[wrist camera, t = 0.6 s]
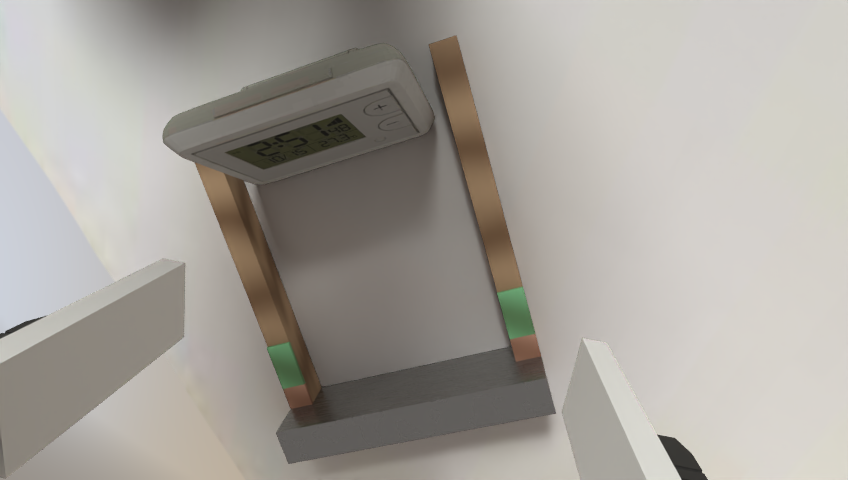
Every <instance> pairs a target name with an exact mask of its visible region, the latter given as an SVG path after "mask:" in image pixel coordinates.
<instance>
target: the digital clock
mask: <svg viewBox="0 0 848 480" xmlns="http://www.w3.org/2000/svg"><path fill="white" fill-rule="evenodd" d="M434 119H435V116H434V113H433V110H432V108H431V106H430V104H429V102H428V100H427V99H426V97H425V95H424V93H423V91H422V89H421V87H420V85H419V83H418V82H417V80H416V78H415V76H414V74H413V72H412V70H411V68H410V66H409V65H408V63H407V61H406V60H405V58H404V57H403V55H402V54H401V53H400V52H399V51H398V50H397V49H395V48H394V47H393V46H391V45H388V44H376V45H372V46H369V47H366V48H363V49H358V48H353V49H351V50H348V51H345V52H342V53H339V54H336V55H334V56H331V57H328V58H325V59H322V60H320V61H317V62H314V63H311V64H308V65H306V66H303V67H300V68H297V69H294V70H291V71H289V72H286V73H283V74H280V75H277V76H275V77H272V78H269V79H266V80H263V81H260V82H258V83H255V84H252V85H249V86H246V87H244V88H242V89H241V92H238V93H235V94H232V95H229V96H227V97H224V98H221V99H218V100H215V101H213V102H210V103H207V104H204V105H201V106H199V107H196V108H193V109H191V110H188V111H185V112H183V113H180V114H178V115H176V116H174V117H173V118H172V119H171V120H170V121H169V122H168V124H167V125H166V127H165V128H164V131H163V143H164V144H165V145H166V146H168V147H169V148H170V149H171V150H173V151H174V152H175V153H177V154H178V155H179V156H181V157H183V158H185V159H187V160H190V161H192V162H195V163H198V164H201V165H203V166H206V167H209V168H211V169H214V170H217V171H220V172H222V173H225V174H228V175H230V176H233V177H236V178H239V179H241V180H244V181H247V182H249V183H252V184H257V185H262V184H267V183H271V182H274V181H278V180H281V179H284V178H288V177H291V176H294V175H297V174H300V173H304V172H307V171H310V170H313V169H316V168H320V167H323V166H326V165H329V164H332V163H336V162H339V161H342V160H345V159H348V158H352V157H355V156H358V155H361V154H364V153H368V152H371V151H374V150H377V149H380V148H384V147H387V146H390V145H393V144H396V143H399V142H403V141H406V140H409V139H412V138H415V137H418V136H421V135H423V134H425V133H427V132H428V131H429V129H430V127H431V126H432V123H433V121H434Z"/></svg>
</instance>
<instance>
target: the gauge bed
mask: <svg viewBox="0 0 848 480" xmlns="http://www.w3.org/2000/svg"><path fill="white" fill-rule="evenodd" d="M429 48H430V51H431V55H432V58H433V62H434V66H435V69H436V73H437V76H438V80H439V84H440V87H441V91H442V94H443V98H444V102H445V105H446V109H447V113H448V116H449V120H450V123H451V127H452V131H453V134H454V138H455V141H456V145H457V149H458V152H459V156H460V160H461V163H462V167H463V170H464V174H465V178H466V181H467V185H468V188H469V192H470V196H471V199H472V203H473V207H474V210H475V214H476V217H477V221H478V225H479V228H480V232H481V235H482V239H483V243H484V246H485V250H486V254H487V257H488V261H489V264H490V268H491V272H492V275H493V279H494V282H495V286H496V290H497V295H498V298H499V302H500V306H501V309H502V313H503V317H504V320H505V324H506V327H507V331H508V335H509V338H510V342H511V345H512V349H513V353H514V356H515V360H516V361H521V360H526V359H531V358H535V357H540V356H541V354H540V350H539V346H538V342H537V338H536V335H535V331H534V327H533V323H532V319H531V316H530V312H529V308H528V304H527V300H526V297H525V293H524V289H523V286H522V282H521V278H520V275H519V271H518V267H517V263H516V259H515V256H514V252H513V248H512V244H511V241H510V237H509V233H508V229H507V225H506V222H505V218H504V214H503V210H502V206H501V203H500V199H499V195H498V191H497V187H496V184H495V180H494V176H493V172H492V168H491V165H490V161H489V157H488V153H487V150H486V146H485V142H484V138H483V134H482V131H481V127H480V123H479V119H478V115H477V112H476V108H475V104H474V100H473V96H472V93H471V89H470V85H469V81H468V77H467V74H466V70H465V66H464V62H463V59H462V55H461V51H460V47H459V43H458V40H457V36H453V37H450V38H447V39H444V40H441V41H438V42H435V43H432V44H429ZM195 164H196V167H197V170H198V172H199V175H200V177H201V180H202V182H203V185H204V187H205V190H206V192H207V195H208V197H209V200H210V202H211V205H212V207H213V210H214V212H215V215H216V217H217V220H218V222H219V225H220V228H221V230H222V233H223V235H224V238H225V240H226V243H227V245H228V248H229V250H230V253H231V255H232V258H233V260H234V263H235V265H236V268H237V270H238V273H239V275H240V278H241V280H242V283H243V286H244V288H245V291H246V293H247V296H248V298H249V301H250V303H251V306H252V308H253V311H254V313H255V316H256V318H257V321H258V323H259V326H260V328H261V331H262V333H263V336H264V338H265V341H266V344H267V346H268V347H267V350H268V353H269V355H270V358H271V360H272V363H273V365H274V368H275V370H276V373H277V375H278V378H279V380H280V383H281V385H282V388H283V390H284V393H285V395H286V398H287V401H288V403H289V406H290V408H291V409H293V408H298V407H302V406H307V405H312V404H313V402H314V400H315V398H316V397H317V395H318V393H319V391H320V390H321V388H322V387H321V385H320V382H319V379H318V377H317V374H316V371H315V369H314V366H313V363H312V361H311V358H310V356H309V353H308V350H307V348H306V345H305V342H304V340H303V337H302V334H301V332H300V329H299V326H298V324H297V321H296V318H295V316H294V313H293V311H292V308H291V305H290V303H289V300H288V297H287V295H286V292H285V289H284V287H283V284H282V281H281V279H280V276H279V273H278V271H277V268H276V266H275V263H274V260H273V258H272V255H271V252H270V250H269V247H268V244H267V242H266V239H265V236H264V234H263V231H262V228H261V226H260V223H259V221H258V218H257V215H256V213H255V210H254V207H253V205H252V202H251V199H250V197H249V194H248V191H247V189H246V186H245V183H244V181H243V180H241V179H239V178H236V177H233V176H230V175H228V174H225V173H222V172H220V171H217V170H214V169H211V168H209V167H206V166H203V165H201V164H198V163H195ZM544 370H545V369H544ZM545 374H546V373H545Z"/></svg>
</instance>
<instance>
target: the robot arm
mask: <svg viewBox="0 0 848 480" xmlns="http://www.w3.org/2000/svg"><path fill="white" fill-rule="evenodd" d="M184 309H185V263H184V262H179V261H173V260H168V259H161V260H159V261H157V262H155V263H153V264H151V265H149V266H147V267H145V268H143V269H141V270H139V271H137V272H135V273H133V274H131V275H129V276H127V277H125V278H123V279H121V280H119V281H117V282H115V283H113V284H111V285H109V286H107V287H105V288H103V289H101V290H99V291H97V292H94V293H92V294H90V295H88V296H86V297H85V298H82V299H81V300H78V301H76V302H74V303H72V304H70V305H68V306H66V307H64V308H62V309H60V310H58V311H56V312H54V313H52V314H50V315H48V316H44V317H40V318H37V319H33V320H30V321H26V322H24V323H22V324H20V325H17V326H15V327H14V328H11V329H9V330H7V331H6V332H5V333H1V334H0V477H1V478H7V477H9V476H10V475H11V474H12V473H13V472H15V471H16V470H17V469H19V468H20V467H21V466H22V465H24V464H25V463H26V462H27V461H29V460H30V459H31V458H33V457H34V456H35V455H36V454H38V453H39V452H40V451H41V450H43V449H44V448H45V447H46V446H47V445H49V444H50V443H51V442H53V441H54V440H55V439H56V438H58V437H59V436H60V435H61V434H63V433H64V432H65V431H66V430H68V429H69V428H70V427H71V426H73V425H74V424H75V423H76V422H78V421H79V420H80V419H82V418H83V417H84V416H85V415H86V414H88V413H89V412H90V411H91V410H93V409H94V408H95V407H97V406H98V405H99V404H100V403H102V402H103V401H104V400H105V399H107V398H108V397H109V396H110V395H112V394H113V393H114V392H115V391H117V390H118V389H119V388H120V387H122V386H123V385H124V384H125V383H127V382H128V381H129V380H130V379H132V378H133V377H134V376H135V375H137V374H138V373H139V372H140V371H142V370H143V369H144V368H146V367H147V366H148V365H149V364H151V363H152V362H153V361H154V360H156V359H157V358H158V357H159V356H161V355H162V354H163V353H164V352H166V351H167V350H168V349H169V348H171V347H172V346H173V345H175V344H176V343H177V342H178V341H180V340H181V339H182V338H183V337H184ZM562 415H563V418H564V422H565V426H566V429H567V433H568V436H569V440H570V444H571V447H572V451H573V454H574V458H575V462H576V465H577V469H578V472H579V476H580V480H708V479H707V478H706V476H705V474H703V473H702V469H701V468H700V466H699V465H698V463H697V461H696V460H695V458H694V456H693V455H692V454H691V453H690V452H689V451H688V450H687V449H686V448H685V447H684V446H683V445H682V444H681V443H680V442H679V441H677V440H676V439H675V438H672V437H667V436H662V435H657V434H656V432H655V430H654V428H653V426H652V425H651V423H650V421H649V419H648V417H647V415H646V414H645V412H644V410H643V408H642V406H641V404H640V403H639V401H638V399H637V397H636V395H635V393H634V392H633V390H632V388H631V386H630V384H629V382H628V381H627V379H626V377H625V375H624V373H623V372H622V370H621V368H620V366H619V364H618V362H617V361H616V359H615V357H614V355H613V353H612V351H611V350H610V348H609V346H608V344H607V342H601V341H596V340H591V339H585V338H582V341H581V344H580V348H579V352H578V355H577V359H576V362H575V366H574V370H573V373H572V377H571V380H570V384H569V387H568V391H567V395H566V398H565V402H564V405H563V409H562Z"/></svg>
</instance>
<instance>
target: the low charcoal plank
mask: <svg viewBox="0 0 848 480" xmlns="http://www.w3.org/2000/svg"><path fill="white" fill-rule="evenodd" d="M555 413H556V412H555V408H554V404H553V400H552V396H551V393H550V389H549V385H548V381H547V377H546V374H545V370H544V366H543V362H542V358H541V356H540V357H535V358H531V359H526V360H521V361H516V360H515V356H514V353H513V349H512V347H507V348H503V349H498V350H493V351H489V352H484V353H479V354H475V355H470V356H466V357H461V358H456V359H452V360H447V361H442V362H438V363H433V364H429V365H424V366H419V367H415V368H410V369H405V370H401V371H396V372H392V373H387V374H382V375H378V376H373V377H368V378H364V379H359V380H355V381H350V382H345V383H341V384H336V385H331V386H327V387H322V388H321V390H320V391H319V393H318V395H317V397H316V398H315V400H314V402H313V404H312V405H307V406H302V407H298V408H293V409H291V410H290V411H289V413H288V414H287V416H286V418H285V419H284V421H283V422H282V424H281V425H280V427H279V429H278V430H277V432H276V434H277V437H278V439H279V442H280V444H281V447H282V449H283V451H284V454H285V456H286V459H287V461H288V464H290V463H296V462H301V461H306V460H311V459H317V458H322V457H327V456H333V455H338V454H343V453H348V452H354V451H359V450H364V449H370V448H375V447H380V446H385V445H391V444H396V443H401V442H407V441H412V440H417V439H423V438H428V437H433V436H438V435H444V434H449V433H454V432H460V431H465V430H470V429H475V428H481V427H486V426H491V425H497V424H502V423H507V422H512V421H518V420H523V419H528V418H534V417H539V416H544V415H550V414H555Z"/></svg>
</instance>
